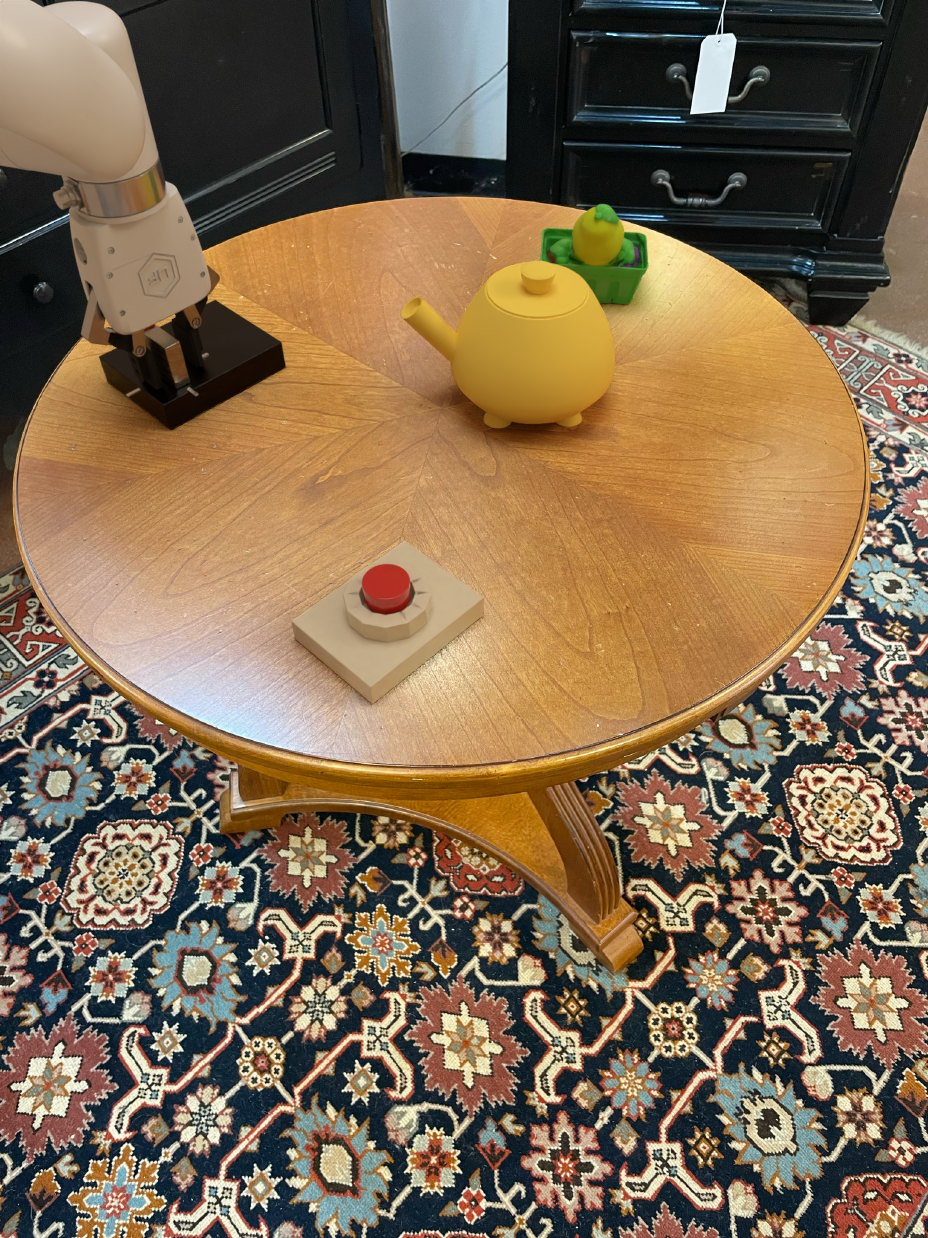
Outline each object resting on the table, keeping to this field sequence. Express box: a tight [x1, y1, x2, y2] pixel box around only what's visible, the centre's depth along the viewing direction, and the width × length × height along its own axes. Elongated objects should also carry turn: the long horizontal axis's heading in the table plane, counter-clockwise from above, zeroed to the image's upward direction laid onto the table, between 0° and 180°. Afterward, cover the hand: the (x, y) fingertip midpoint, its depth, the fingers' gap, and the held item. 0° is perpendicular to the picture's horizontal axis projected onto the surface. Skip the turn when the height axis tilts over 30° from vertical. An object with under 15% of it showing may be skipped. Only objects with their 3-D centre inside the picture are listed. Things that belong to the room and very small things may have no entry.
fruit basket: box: [539, 203, 649, 305], centre depth 101 cm, size 11×9×11 cm
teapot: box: [400, 260, 616, 429], centre depth 89 cm, size 20×16×14 cm
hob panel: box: [98, 299, 287, 431], centre depth 94 cm, size 16×12×3 cm
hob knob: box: [144, 324, 190, 389], centre depth 89 cm, size 5×2×5 cm, turn 45°
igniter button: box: [362, 564, 411, 614], centre depth 72 cm, size 4×4×2 cm
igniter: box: [291, 540, 485, 705], centre depth 74 cm, size 12×9×4 cm
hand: (171, 369), depth 91 cm, fingers open, 4 cm apart
